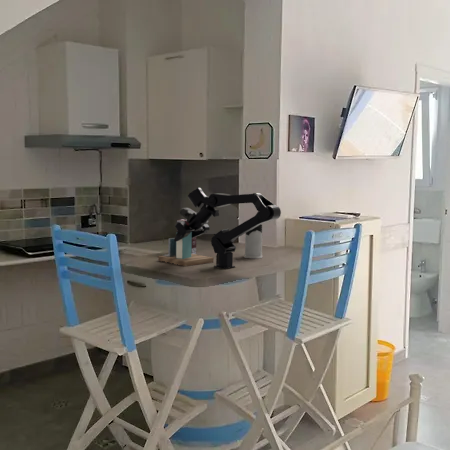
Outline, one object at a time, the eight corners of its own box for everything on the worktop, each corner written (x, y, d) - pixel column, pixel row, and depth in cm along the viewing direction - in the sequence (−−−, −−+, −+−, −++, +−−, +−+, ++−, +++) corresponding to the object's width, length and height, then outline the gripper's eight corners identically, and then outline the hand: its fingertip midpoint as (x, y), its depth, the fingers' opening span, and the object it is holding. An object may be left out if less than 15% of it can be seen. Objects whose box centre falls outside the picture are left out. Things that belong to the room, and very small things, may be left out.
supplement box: (175, 253, 282) (176, 220, 280) (181, 252, 286) (181, 219, 284) (191, 255, 277) (191, 221, 276) (196, 253, 282) (197, 220, 280)
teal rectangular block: (191, 257, 259) (191, 231, 258) (182, 259, 253) (182, 233, 252) (184, 256, 260) (184, 231, 259) (175, 258, 255) (176, 232, 254)
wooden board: (213, 262, 258) (213, 257, 258) (185, 266, 247) (185, 261, 247) (186, 257, 271) (186, 252, 271) (158, 260, 260) (158, 256, 260)
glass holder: (247, 258, 270) (248, 225, 268) (237, 254, 283) (237, 222, 282) (265, 258, 273) (266, 225, 271) (254, 253, 286) (254, 222, 284)
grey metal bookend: (191, 254, 265) (191, 236, 265) (170, 257, 257) (170, 238, 256) (184, 253, 269) (184, 235, 268) (163, 255, 261) (163, 237, 260)
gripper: (204, 200, 260) (183, 224, 267) (178, 202, 244) (157, 227, 251) (219, 219, 257) (197, 243, 264) (194, 223, 241) (172, 247, 248)
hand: (181, 239), depth 257 cm, fingers open, 9 cm apart
